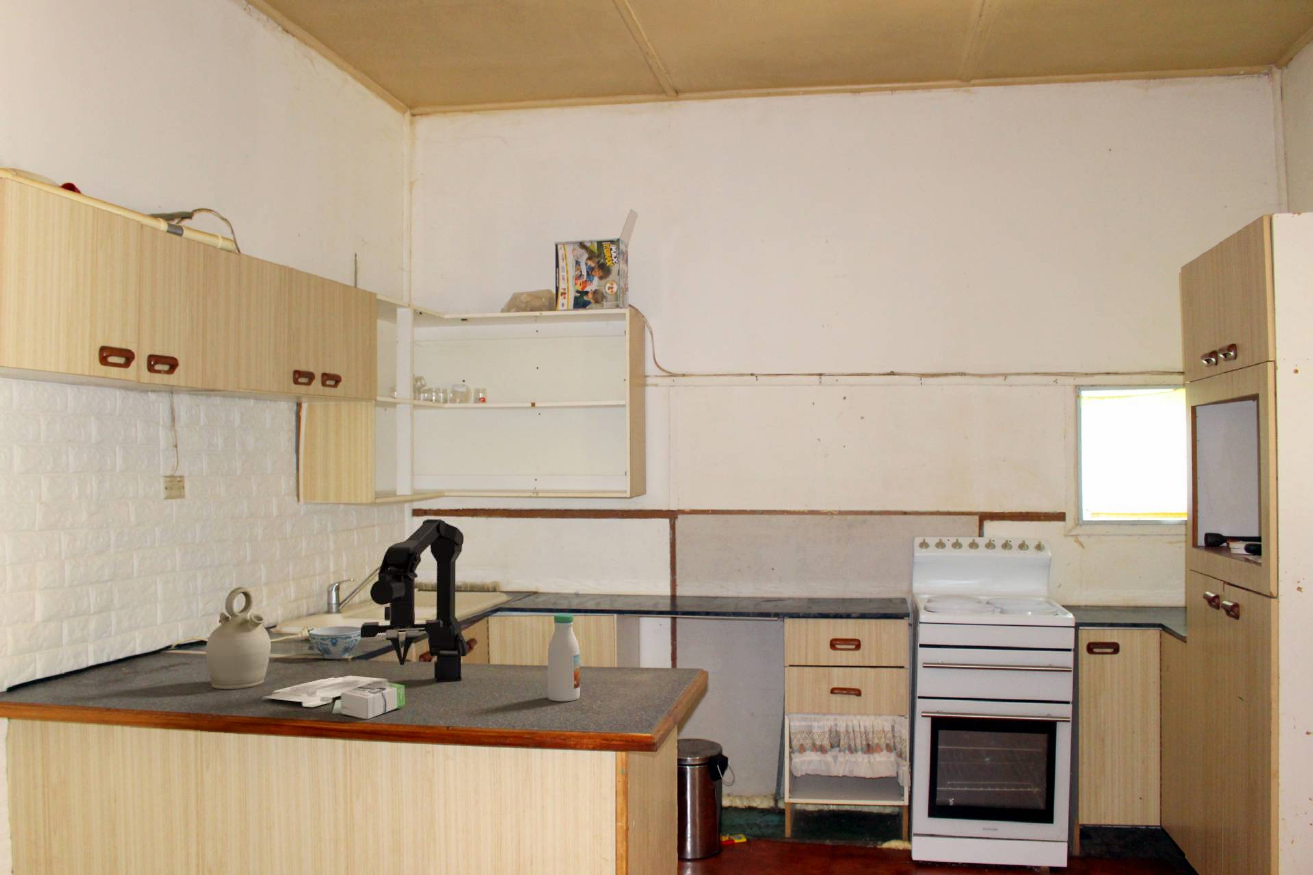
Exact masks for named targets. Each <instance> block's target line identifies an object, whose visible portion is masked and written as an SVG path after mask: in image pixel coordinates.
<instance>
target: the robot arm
mask: <svg viewBox="0 0 1313 875" xmlns="http://www.w3.org/2000/svg"><path fill="white" fill-rule="evenodd" d="M464 538H465V537H464V534H463V532H462V531H461V530H460V529H459V527H457V526H454V525H452V524H449V523H447V522H446V521H444V520H442V519H440V518H439V519H437V518H435V519H434V518H433V519H431V518H427V519H424V520H423V522H422V524H421V525H420V526H419V527H418V528H417V529H416V530H415V531H414V532H412V534H411V535H410V536H409V537H408V538H407V539H406V540H404V541H400V542H397V543H394V544H393V545H390V546H388V548H387V550H386V552H385V553H384V556H383V559H382V562H381V564H380V568H379V571H378V573H377V574H378V577H377V581H375V582H374V583H372V584H371V587H370V590H369V594H370V597H371V599H372V601H373V602H374V603H375V604H376V605H380V606H384V605H387V604H389V606H384V615H383V616H384V621H385V622H386V621H387V622H389V624H385V625H380V622H379V621H369V622H363V623H362V624H361V626H360V628H361V637H360V639H361V638H363V639H364V638H375V637H376V636H377V635H378V634H385V635H386V637H385V640H386V641H390V642H391V644H392V646H393V649H394V651H395V654H396V656H397V659H398V662H399V665H400V666H405V663H406V660H407V655H408V654H409V650H410V647H411V646H412V643H413V642H414V640H417V639H419V632H425V633H427V634H428V638H427V639H428V640H427V641H428V642H427V644H428V649H429V654H430V657H436V660H434V661H433V662H434V663H433V666H434V668H433V671H434V672H433V676H434V679H435V680H436V682H451V681H452V682H453V681H462V680H463V677H462V676H463V675H462V657H467V654H468V652H469V651H468V649H469V645H468V644H467V641H466V640H465V637H464V635H463V634H462V630H463V629H462V625H461V624H460V622H459V620H458V619H457V617H456V561H457V560H458V558H459V557H460V555H461V553H462V551H463V544H464ZM428 547H429V548H430V554H431V555H432V557H433V558H434V560H435V561H436V613H435V614H436V616H435V619H425V623H416V612H415V607H416V606H415V605H416V604H415V589H416V588H415V586H416V585H415V584H416V583H415V582H416V581H415V578H418V574H417V573H416V570H417V568H418V566H419V565H420V563H421V561H422V557H421V555H423V554H422V553H424V551H425V550H427V548H428ZM400 633H405V636H404V643H403V651H402V646H401V638H400Z"/></svg>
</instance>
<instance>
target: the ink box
mask: <svg viewBox="0 0 1313 875" xmlns="http://www.w3.org/2000/svg"><path fill="white" fill-rule="evenodd" d="M405 688H406V687H405V685H403V684H398V683H394V684H393V682H383V681H375V682H372V683H369V684H366V685H363V686H360V687H357V688H353V689H350V690H347V691H344V692H341V695H340V700H341V713H340V714H342V715H347V716H351V717H355V718H360V719H363V720H365V719H366V720H369V719H371V718H375V717H376V716H380V715H382V714H384V713H385V714H386V713H387V712H390V711H394V710H395V709H399V708H402V707H403V706H405V704H406V702H405V700H406V698H405V697H406V693H405Z"/></svg>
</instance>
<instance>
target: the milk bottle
mask: <svg viewBox="0 0 1313 875" xmlns="http://www.w3.org/2000/svg"><path fill="white" fill-rule="evenodd" d="M553 621H554V623H553V624H554V631H553V634H552V637H551V639H550V642H549V644H548V648H547V698H548V700H549V701H552V702H573V701H577V700H578V699H580V696H581V668H580V666H581V664H580V663H581V662H580V661H581V660H580V659H581V656H580V655H581V654H580V647H579V642H578V640H577V637H576V635H575V632H574V628H573V624H574V614H569V613H559V614H555V615H554V617H553Z"/></svg>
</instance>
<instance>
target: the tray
mask: <svg viewBox="0 0 1313 875" xmlns="http://www.w3.org/2000/svg"><path fill="white" fill-rule="evenodd" d="M375 681H383V682H388V681H389V680H388V679H387V678H379V677H370V676H369V677H368V676H360V675H359V676H358V675H345V676H342V677H336V678H335V677H329V678H325V679H322V678H321V679H317V680H314V681H309V682H304V683H301V684H296V685H292V686H290V687H289V686H288V687H284V688H280V689H277V690H272V694H270V695H267V696H263V697H261V702H264V701H267V700H272V699H274V700H283V701H291V702H292V701H293V702H300V703H301V705H302V707H306V708H307V707H308V708H315V707H318V706H321V705H325V704H330V703H332V702H333V698H336V697H341V692H344V691H347V690H350V689H353V688H357V687H360V686H363V685H366V684H369V683H372V682H375ZM388 683H389V682H388ZM392 683H393V682H392ZM393 684H395V682H394V683H393Z"/></svg>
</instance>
